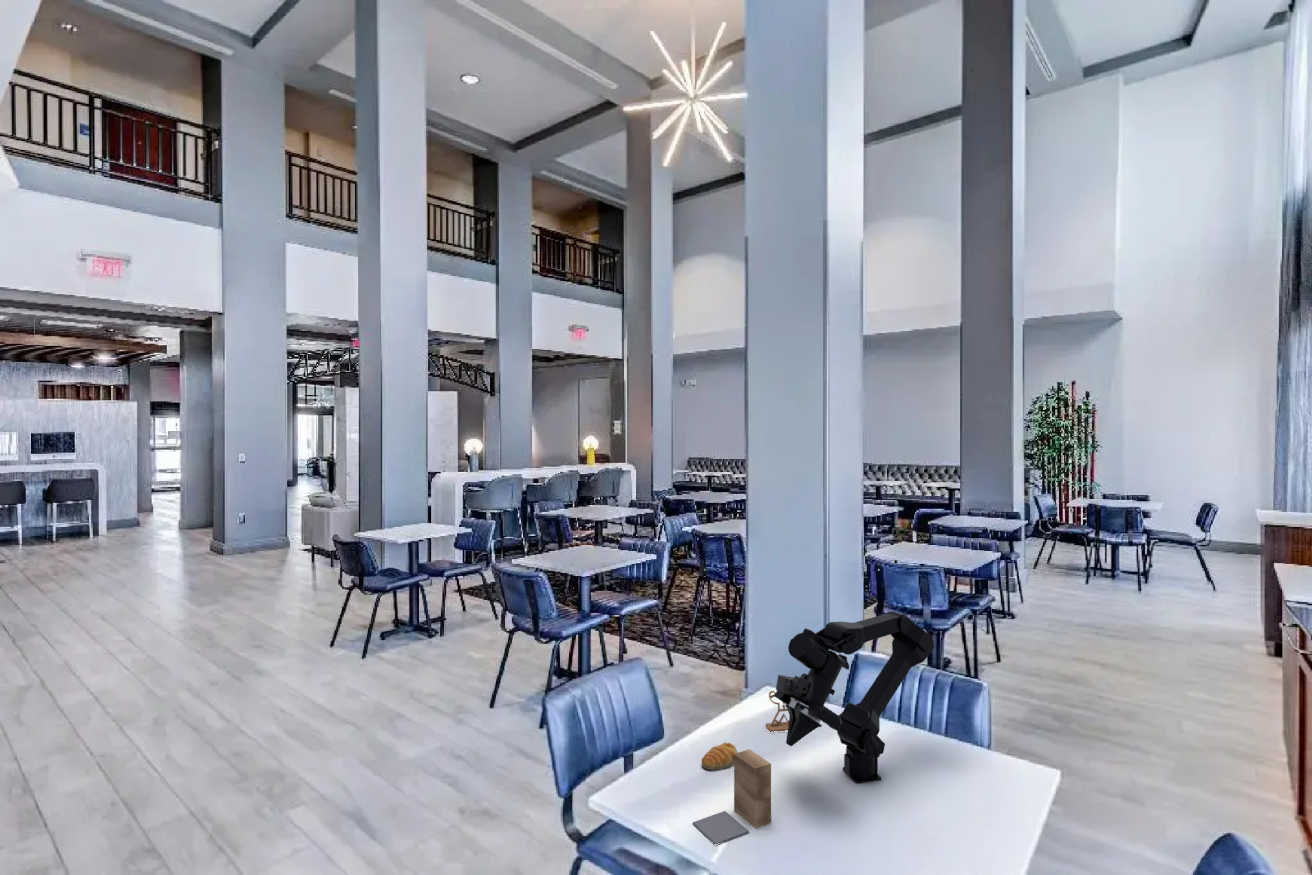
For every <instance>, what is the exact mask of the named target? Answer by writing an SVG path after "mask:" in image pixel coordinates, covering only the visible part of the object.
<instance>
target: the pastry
mask: <svg viewBox="0 0 1312 875" xmlns="http://www.w3.org/2000/svg"><path fill="white" fill-rule="evenodd" d="M735 753H739V752H738V751H737V748H736V746H735V745H734V744H733V743H730V742H723V743H722V744H719V745H715V746H712V747H711V748H710V749H709V750H708V751H707V752H706V754H704V755H703V757H702V758H701V767H702V768H704V769H707V770H709V771H718V770H724V769H727V768H729V767H732V766H733V767H734V754H735Z"/></svg>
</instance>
